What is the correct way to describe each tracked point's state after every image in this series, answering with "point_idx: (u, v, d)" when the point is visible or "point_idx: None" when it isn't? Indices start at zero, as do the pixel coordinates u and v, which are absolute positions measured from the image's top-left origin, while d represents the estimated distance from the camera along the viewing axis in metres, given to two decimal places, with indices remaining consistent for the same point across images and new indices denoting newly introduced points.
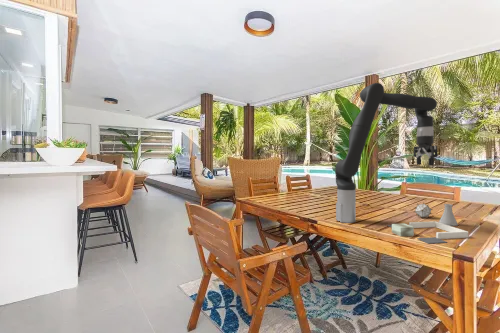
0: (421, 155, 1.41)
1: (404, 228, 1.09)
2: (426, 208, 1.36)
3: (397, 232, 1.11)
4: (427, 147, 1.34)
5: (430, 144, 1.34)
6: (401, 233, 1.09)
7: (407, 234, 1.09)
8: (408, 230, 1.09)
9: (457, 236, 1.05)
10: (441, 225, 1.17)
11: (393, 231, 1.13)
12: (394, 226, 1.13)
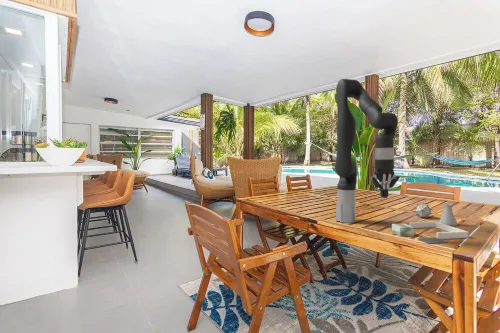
0: None
1: (403, 228, 1.09)
2: (426, 208, 1.36)
3: (397, 232, 1.11)
4: (392, 173, 1.09)
5: None
6: (400, 233, 1.09)
7: (407, 234, 1.09)
8: (408, 230, 1.09)
9: (457, 236, 1.05)
10: (441, 225, 1.17)
11: (393, 231, 1.13)
12: (394, 226, 1.13)
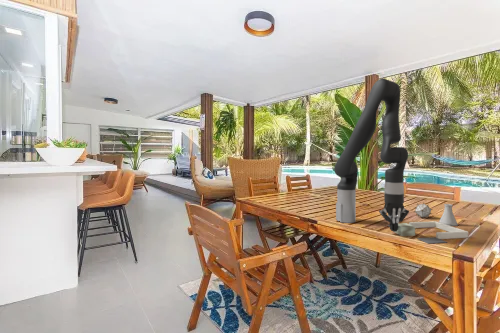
0: None
1: (405, 228, 1.09)
2: (426, 208, 1.36)
3: (398, 232, 1.11)
4: (402, 207, 1.10)
5: None
6: (401, 233, 1.09)
7: (408, 234, 1.09)
8: (409, 230, 1.09)
9: (457, 236, 1.05)
10: (441, 225, 1.17)
11: None
12: None
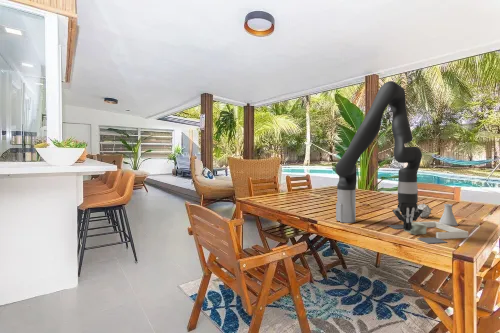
0: None
1: (418, 226, 1.10)
2: (426, 208, 1.36)
3: None
4: (415, 206, 1.10)
5: None
6: (414, 231, 1.10)
7: (420, 232, 1.11)
8: (421, 228, 1.11)
9: (457, 236, 1.05)
10: (441, 225, 1.17)
11: None
12: None
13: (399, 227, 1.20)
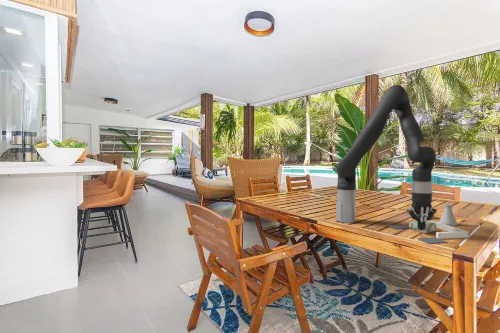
0: None
1: (428, 224, 1.13)
2: None
3: None
4: (430, 206, 1.11)
5: None
6: (426, 229, 1.12)
7: (430, 230, 1.14)
8: (431, 226, 1.14)
9: (457, 236, 1.05)
10: (441, 225, 1.17)
11: (415, 228, 1.17)
12: None
13: (399, 227, 1.20)
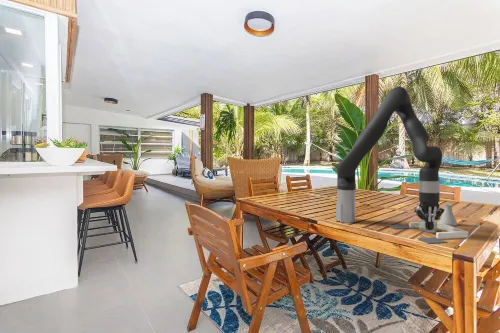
0: None
1: (435, 224, 1.13)
2: None
3: None
4: (437, 206, 1.11)
5: None
6: (434, 229, 1.12)
7: (436, 229, 1.14)
8: (436, 225, 1.14)
9: (457, 236, 1.05)
10: (441, 225, 1.17)
11: (422, 229, 1.15)
12: (423, 223, 1.15)
13: (399, 227, 1.20)
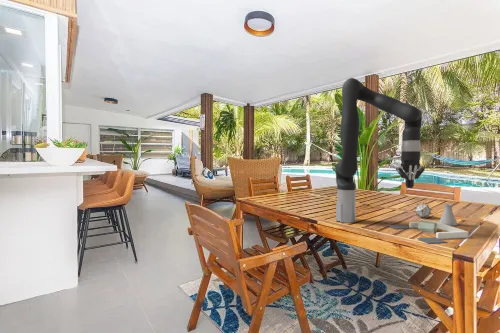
0: None
1: (434, 224, 1.13)
2: (426, 208, 1.36)
3: (428, 229, 1.13)
4: (418, 165, 1.15)
5: None
6: (433, 230, 1.12)
7: (435, 230, 1.14)
8: (435, 226, 1.14)
9: (457, 236, 1.05)
10: (441, 225, 1.17)
11: (421, 229, 1.15)
12: (422, 224, 1.15)
13: (399, 227, 1.20)
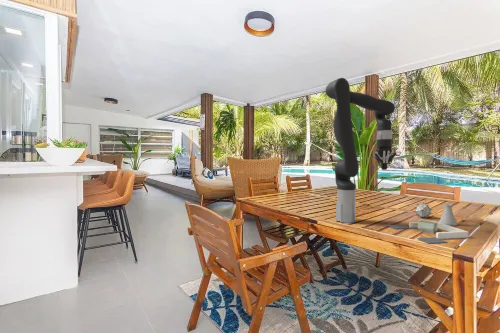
0: None
1: (434, 224, 1.13)
2: (426, 208, 1.36)
3: (427, 229, 1.14)
4: (390, 150, 1.39)
5: None
6: (433, 230, 1.12)
7: (435, 230, 1.14)
8: (435, 226, 1.14)
9: (457, 236, 1.05)
10: (441, 225, 1.17)
11: (420, 229, 1.16)
12: (422, 224, 1.15)
13: (399, 227, 1.20)
